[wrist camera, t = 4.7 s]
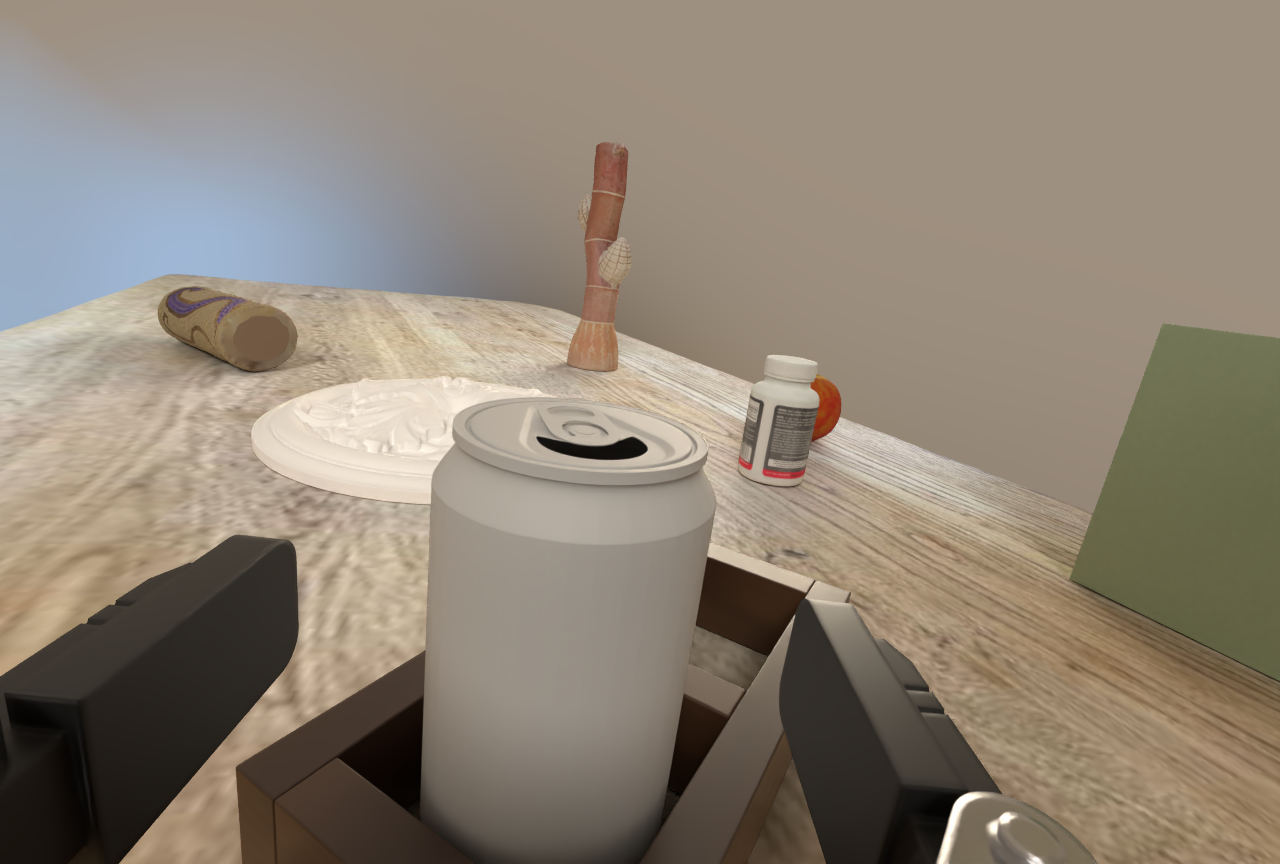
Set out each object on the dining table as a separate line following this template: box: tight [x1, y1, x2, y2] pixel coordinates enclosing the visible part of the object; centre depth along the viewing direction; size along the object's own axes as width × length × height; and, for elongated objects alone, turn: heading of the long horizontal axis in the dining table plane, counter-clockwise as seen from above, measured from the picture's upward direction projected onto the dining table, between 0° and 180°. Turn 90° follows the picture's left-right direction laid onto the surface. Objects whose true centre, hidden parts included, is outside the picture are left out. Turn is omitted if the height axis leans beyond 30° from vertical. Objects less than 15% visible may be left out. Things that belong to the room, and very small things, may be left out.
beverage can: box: [420, 397, 716, 864], centre depth 15 cm, size 6×6×12 cm
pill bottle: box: [738, 355, 819, 486], centre depth 48 cm, size 5×5×10 cm
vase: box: [567, 142, 631, 371], centre depth 84 cm, size 11×7×30 cm
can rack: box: [236, 542, 851, 864], centre depth 20 cm, size 10×19×4 cm, turn 150°
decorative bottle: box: [158, 286, 298, 372], centre depth 67 cm, size 26×8×7 cm, turn 53°
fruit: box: [811, 374, 841, 442], centre depth 61 cm, size 7×7×8 cm
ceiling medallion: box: [251, 376, 560, 505], centre depth 49 cm, size 28×28×3 cm
